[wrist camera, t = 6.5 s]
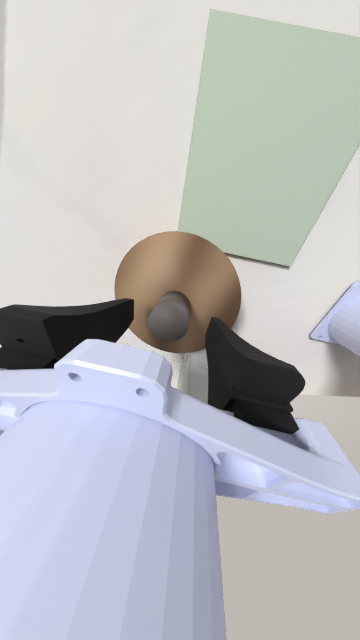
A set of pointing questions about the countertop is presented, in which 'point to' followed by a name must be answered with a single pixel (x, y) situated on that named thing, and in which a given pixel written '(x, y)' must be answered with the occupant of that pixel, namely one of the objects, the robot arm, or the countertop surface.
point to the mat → (269, 134)
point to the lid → (178, 290)
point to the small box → (194, 375)
